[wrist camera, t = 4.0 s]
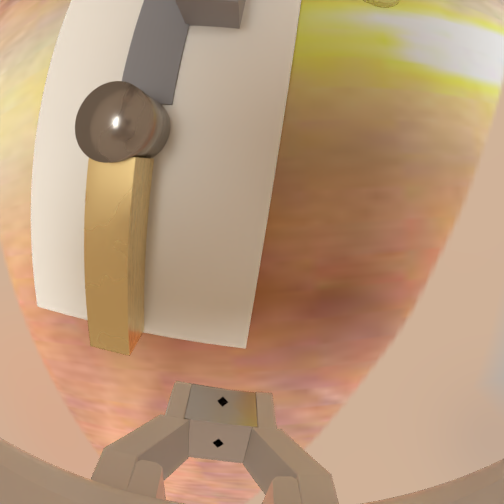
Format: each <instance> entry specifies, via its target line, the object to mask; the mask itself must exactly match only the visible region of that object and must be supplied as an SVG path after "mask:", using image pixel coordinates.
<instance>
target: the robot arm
mask: <svg viewBox="0 0 504 504" xmlns="http://www.w3.org/2000/svg"><path fill="white" fill-rule="evenodd" d="M188 457H194V458H202V459H211V460H220V461H228V462H236V463H243V465H244V466H245V468H246V469H247V470H248V472H249V473H250V475H251V476H252V477H253V479H254V480H255V482H256V483H257V484H258V486H259V487H260V488H261V490H262V491H263V492H264V494H265V495H266V496H265V498H264V500H263V502H262V504H339V502H338V498H337V495H336V491H335V487H334V483H333V479H332V475H331V474H330V473H329V472H328V471H327V470H326V469H325V468H323V467H322V466H321V465H320V464H319V463H318V462H317V461H315V460H314V459H313V458H312V457H311V456H310V455H309V454H308V453H307V452H305V451H304V450H303V449H302V448H301V447H300V446H299V445H298V444H297V443H296V442H295V441H294V440H293V439H292V438H291V437H289V436H288V435H287V434H286V433H285V432H284V431H283V430H282V429H277V426H276V418H275V410H274V402H273V395H272V393H267V392H249V391H239V390H230V389H222V388H216V387H209V386H203V385H197V384H191V383H185V382H180V381H176V382H175V384H174V387H173V390H172V393H171V397H170V400H169V403H168V407H167V410H166V413H165V415H161V414H160V415H158V416H157V417H155V418H154V419H152V420H150V421H149V422H147V423H146V424H144V425H142V426H141V427H139V428H137V429H136V430H134V431H132V432H131V433H129V434H127V435H126V436H124V437H122V438H120V439H119V440H117V441H115V442H114V443H112V444H110V445H108V446H107V447H105V448H104V449H103V452H102V454H101V456H100V458H99V461H98V463H97V465H96V468H95V471H94V472H93V475H92V477H91V480H90V479H87V478H84V477H82V476H79V475H77V474H74V473H71V472H69V471H66V470H64V469H62V468H59V467H57V466H55V465H52V464H50V463H48V462H46V461H44V460H42V459H39V458H37V457H35V456H33V455H31V454H29V453H27V452H25V451H23V450H21V449H20V448H18V447H16V446H14V445H12V444H10V443H9V442H7V441H5V440H3V439H2V438H0V504H184V503H179V502H173V501H168V500H166V497H165V489H164V480H165V479H166V478H167V477H168V476H170V475H171V474H172V473H173V472H174V471H175V470H176V469H177V468H178V467H179V466H180V465H181V464H182V463H183V462H185V461H186V460H187V459H188ZM362 504H504V459H502V460H500V461H498V462H496V463H493V464H491V465H489V466H487V467H484V468H482V469H480V470H477V471H475V472H473V473H470V474H468V475H465V476H463V477H460V478H457V479H455V480H452V481H449V482H446V483H443V484H440V485H437V486H434V487H431V488H427V489H424V490H420V491H417V492H413V493H409V494H405V495H401V496H397V497H393V498H389V499H384V500H378V501H373V502H368V503H362Z"/></svg>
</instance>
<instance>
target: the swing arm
mask: <svg viewBox="0 0 504 504" xmlns="http://www.w3.org/2000/svg"><path fill="white" fill-rule="evenodd" d="M170 128H171V126H170V118H169V115H168V113H167V111H166V109H165V108H164V107H163V106H162V105H161V104H160V103H159V102H158V101H156V100H155V99H153V98H152V97H150V96H149V95H148V94H146V93H145V92H143V91H142V90H140V89H139V88H137V87H136V86H134V85H133V84H131V83H128V82H124V81H112V82H108V83H105V84H103V85H101V86H99V87H97V88H96V89H94V90H93V91H92V92H91V93H90V94H89V95H88V96H87V97H86V98H85V100H84V101H83V103H82V104H81V106H80V108H79V110H78V113H77V116H76V121H75V135H76V140H77V143H78V145H79V147H80V149H81V150H82V151H83V153H84V154H85V155H86V156H88V157H89V160H88V170H87V181H86V195H85V215H84V273H85V294H86V308H87V319H88V329H89V338H90V346H92V347H96V348H100V349H104V350H108V351H112V352H116V353H120V354H125V355H129V356H130V354H131V352H132V351H133V349H134V347H135V345H136V344H137V342H138V340H139V338H140V336H141V335H142V333H143V331H144V279H145V254H146V237H147V223H148V211H149V200H150V190H151V181H152V172H153V164H154V159H153V157H155V156H156V155H157V154H158V153H159V152H160V151H161V150H162V149H163V148H164V146H165V145H166V143H167V141H168V138H169V135H170Z"/></svg>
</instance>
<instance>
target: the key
mask: <svg viewBox="0 0 504 504" xmlns="http://www.w3.org/2000/svg"><path fill="white" fill-rule="evenodd" d="M363 1H365V2H367V3H370V4H372V5H375V6H379V7H391V6H394V5H396V4H398V3H399V1H400V0H363Z"/></svg>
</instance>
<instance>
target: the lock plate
mask: <svg viewBox="0 0 504 504" xmlns="http://www.w3.org/2000/svg"><path fill="white" fill-rule="evenodd" d="M300 6H301V0H71V2H70V5H69V7H68V10H67V13H66V15H65V18H64V21H63V24H62V27H61V29H60V32H59V35H58V39H57V42H56V45H55V48H54V52H53V55H52V59H51V63H50V66H49V70H48V74H47V79H46V83H45V87H44V92H43V97H42V102H41V107H40V113H39V119H38V126H37V133H36V140H35V149H34V159H33V171H32V188H31V243H32V260H33V273H34V283H35V292H36V299H37V306H38V307H41V308H44V309H48V310H51V311H55V312H59V313H62V314H66V315H70V316H73V317H77V318H81V319H85V320H88V319H87V308H86V294H85V273H84V215H85V195H86V181H87V170H88V160H89V157H88V156H86V155H85V154H84V153H83V151H82V150H81V149H80V147H79V145H78V143H77V140H76V135H75V121H76V116H77V113H78V110H79V108H80V106H81V104H82V103H83V101H84V100H85V98H86V97H87V96H88V95H89V94H90V93H91V92H92V91H93V90H94V89H96V88H97V87H99V86H101V85H103V84H105V83H108V82H112V81H124V82H128V83H131V84H133V85H134V86H136V87H137V88H139V89H140V90H142V91H143V92H145V93H146V94H148V95H149V96H150V97H152V98H153V99H155V100H156V101H158V102H159V103H160V104H161V105H162V106H163V107H164V108H165V109H166V111H167V113H168V115H169V118H170V126H171V128H170V135H169V138H168V141H167V143H166V145H165V146H164V148H163V149H162V150H161V151H160V152H159V153H158V154H157V155H156V156H155V157H153V159H154V164H153V172H152V181H151V190H150V200H149V211H148V223H147V237H146V254H145V279H144V331H143V333H149V334H154V335H159V336H165V337H170V338H176V339H182V340H188V341H194V342H201V343H207V344H214V345H221V346H229V347H237V348H245V349H246V344H247V339H248V333H249V327H250V321H251V315H252V310H253V304H254V298H255V292H256V286H257V280H258V274H259V268H260V262H261V256H262V250H263V244H264V238H265V232H266V226H267V220H268V214H269V208H270V202H271V196H272V189H273V183H274V177H275V171H276V164H277V158H278V152H279V145H280V139H281V133H282V126H283V120H284V113H285V107H286V100H287V94H288V87H289V81H290V74H291V67H292V61H293V54H294V47H295V40H296V34H297V27H298V20H299V13H300Z"/></svg>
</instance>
